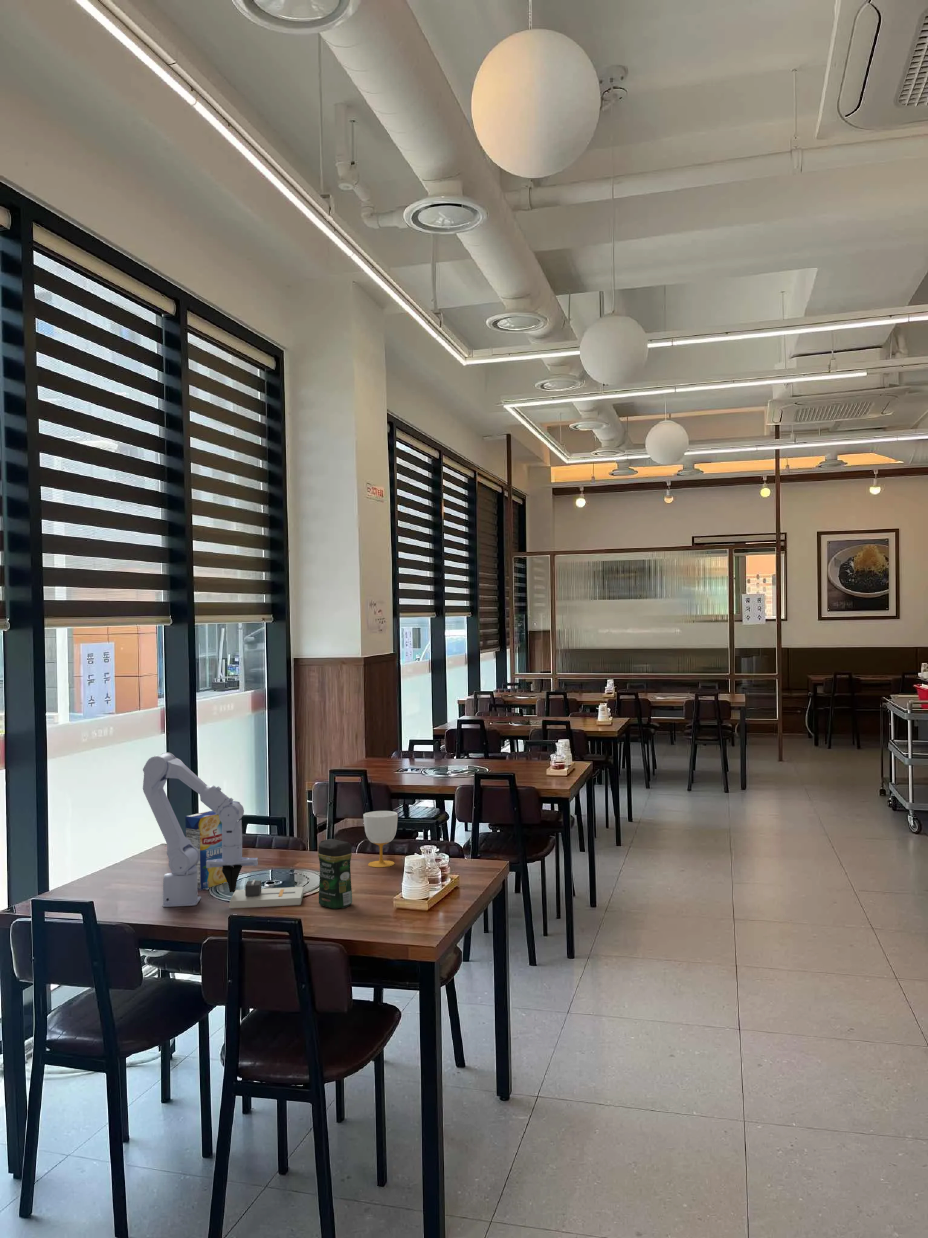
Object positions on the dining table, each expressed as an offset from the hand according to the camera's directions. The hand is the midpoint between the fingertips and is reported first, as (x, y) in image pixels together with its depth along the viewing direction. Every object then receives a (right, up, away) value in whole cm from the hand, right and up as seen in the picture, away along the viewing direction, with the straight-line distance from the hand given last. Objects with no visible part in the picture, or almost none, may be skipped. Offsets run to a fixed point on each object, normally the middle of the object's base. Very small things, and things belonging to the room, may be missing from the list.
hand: (232, 891), depth 262 cm
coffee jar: (+31, -3, -5) cm, 31 cm away
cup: (+40, -4, +43) cm, 58 cm away
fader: (+6, -1, +1) cm, 6 cm away
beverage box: (-13, -4, +21) cm, 25 cm away
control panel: (+10, -3, +1) cm, 10 cm away
